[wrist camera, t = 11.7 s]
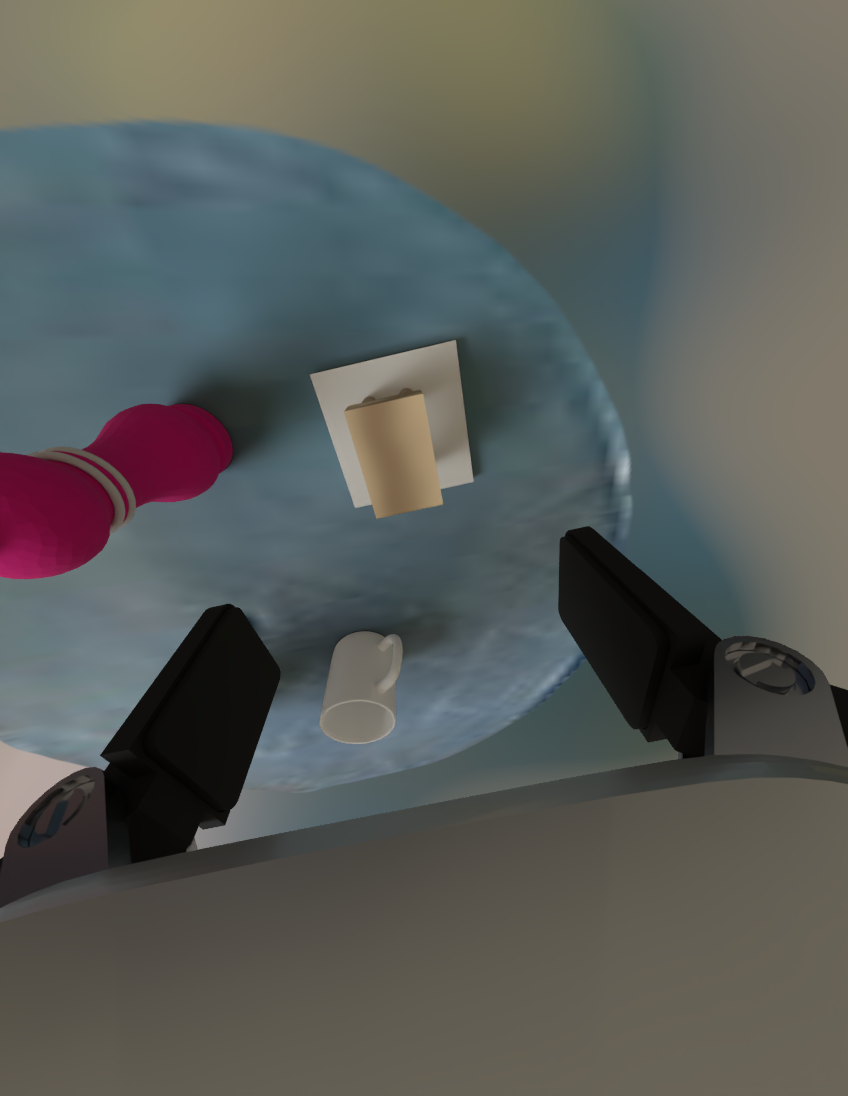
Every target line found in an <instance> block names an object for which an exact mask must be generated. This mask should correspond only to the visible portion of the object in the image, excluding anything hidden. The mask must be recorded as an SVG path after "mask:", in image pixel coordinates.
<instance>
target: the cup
mask: <svg viewBox="0 0 848 1096" xmlns="http://www.w3.org/2000/svg"><path fill="white" fill-rule="evenodd" d="M392 644H393V646H392ZM402 655H403V648H402V642H401V639H400V637H399V636H398V635H395V634H390V635H388V636H386V637H384V636H382V635H380V634H378V633H375V632H369V631H360V632H354V633H351V634H349V635H347V636H345V637H344V638H342V639H341V640H340V641H339V642H338V643H337V645H336V647H335V649H334V652H333V656H332V660H331V666H330V671H329V676H328V681H327V686H326V691H325V696H324V701H323V706H322V711H321V716H320V727H321V729H322V731H323V732H324V733H325V734H326V735H327V736H328V737H330V738H332V739H334V740H336V741H339V742H343V743H349V744H363V743H370V742H374V741H377V740H379V739H381V738H383V737H385V736H387V735H388V734H389V733H390V732H391V731H392V730H393V728H394V726H395V723H396V689H395V682H396V680H397V678H398V676H399V673H400V670H401V664H402Z"/></svg>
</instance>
